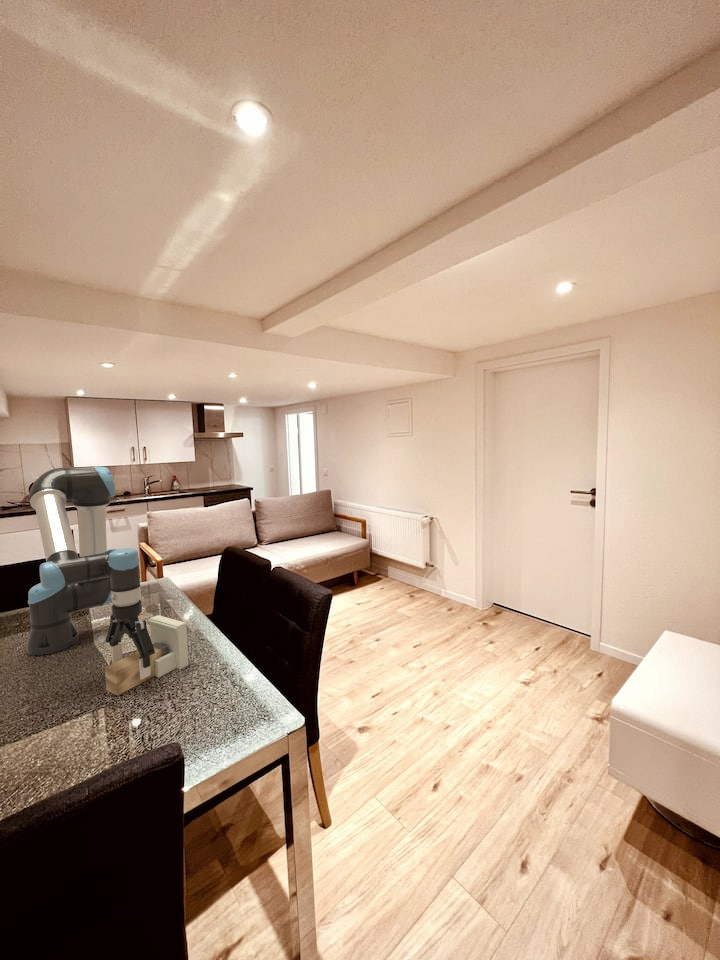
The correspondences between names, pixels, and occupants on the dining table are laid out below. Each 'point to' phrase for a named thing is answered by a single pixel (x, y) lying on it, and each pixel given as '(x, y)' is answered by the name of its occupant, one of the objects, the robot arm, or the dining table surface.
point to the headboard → (169, 643)
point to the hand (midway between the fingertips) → (131, 671)
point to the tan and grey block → (130, 671)
